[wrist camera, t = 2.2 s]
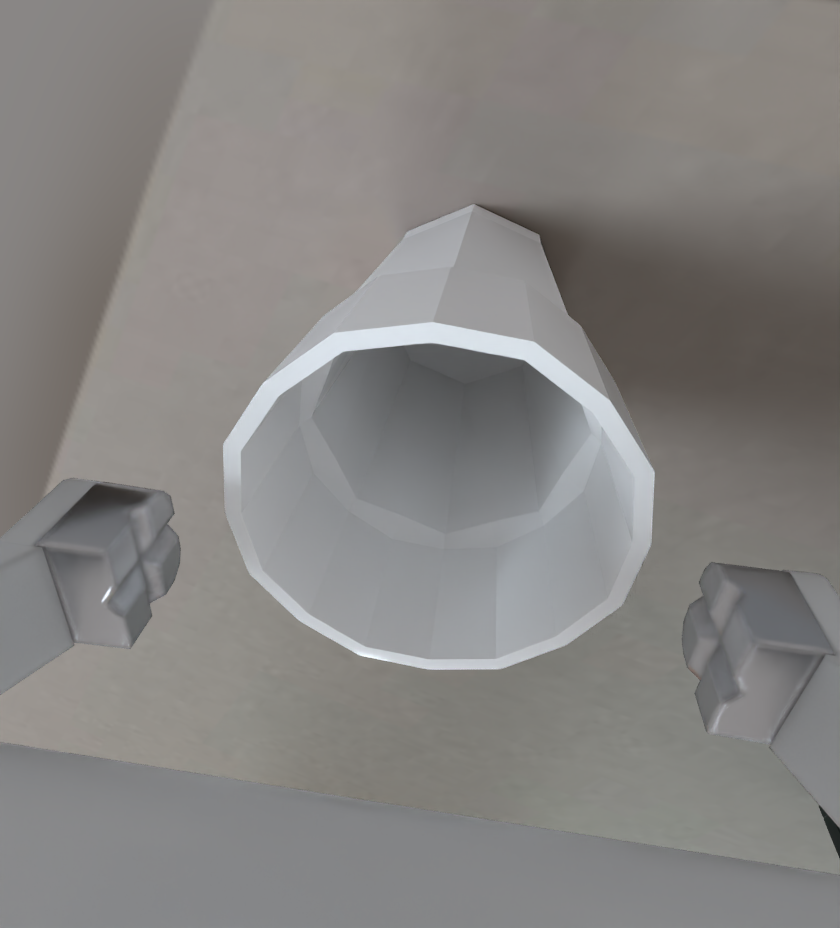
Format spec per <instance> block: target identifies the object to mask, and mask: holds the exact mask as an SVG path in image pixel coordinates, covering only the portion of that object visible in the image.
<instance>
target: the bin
mask: <svg viewBox="0 0 840 928" xmlns="http://www.w3.org/2000/svg"><path fill="white" fill-rule="evenodd" d="M819 808H820V811H821V813H822V816H823V817H824V821H825V823H826V826H827V828H828V831H829V833H830V836H831V838H832V841H833V843H834V846H835V848H836V851H837V853H838V855H839V858H840V828H839V827H838V826H837V825H836V823H835V822H834V821H833V820H832V819H831V818H830V817H829V815H828V814H827V813H826V812H825V811H824V810H823V808H822V807H821V806H820V805H819Z"/></svg>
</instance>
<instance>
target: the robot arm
mask: <svg viewBox="0 0 840 928" xmlns="http://www.w3.org/2000/svg"><path fill="white" fill-rule="evenodd" d="M174 514H175V513H174V509H173V504H172V500H171V496H170V495H169V494H167V493H166V492H165V491H161V490H154V489H148V488H141V487H135V486H128V485H122V484H115V483H108V482H99V481H93V480H86V479H78V478H70V479H66V480H63V481H62V482H61V483H59V484H58V485H57V486H56V487H55V488H54V489H53V490H52V491H51V492H50V493H49V494H47V495H46V496H45V497H44V498H43V499H42V500H41V501H40V502H39V503H38V504H37V505H35V506H34V507H33V508H32V509H31V510H30V511H29V512H28V513H27V514H26V515H25V516H24V517H22V519H20V520H19V521H18V522H17V523H16V524H15V525H14V526H13V527H11V528H10V529H9V530H8V531H7V532H6V533H5V534H4V535H3V536H2V537H1V538H0V695H1V694H2V693H4V692H5V691H7V690H8V689H10V688H11V687H13V686H14V685H16V684H17V683H19V682H20V681H22V680H23V679H25V678H26V677H28V676H29V675H31V674H32V673H34V672H35V671H37V670H38V669H40V668H41V667H43V666H44V665H46V664H47V663H49V662H50V661H52V660H53V659H55V658H56V657H58V656H59V655H61V654H62V653H64V652H65V651H67V650H68V649H70V648H71V647H73V646H74V643H83V644H92V645H100V646H109V647H117V648H126V649H131V647H132V646H133V644H134V643H135V641H136V640H137V638H138V637H139V635H140V634H141V632H142V630H143V629H144V627H145V626H146V624H147V623H148V621H149V620H150V618H151V617H152V612H151V608H150V603H151V602H153V601H155V600H157V599H159V598H161V597H162V596H164V595H166V594H167V592H168V590H169V589H170V587H171V586H172V584H173V582H174V581H175V577H176V574H177V571H178V568H179V564H180V551H181V548H180V542H179V536H178V535H177V534H176V533H175V532H174V531H173V529H172V528H171V527H170V526H169V525H168V524H167V523H168V522H169V520H170V519H171V518H172V516H173V515H174ZM699 584H700V587H701V590H702V593H703V595H704V596H702V597H701V598H699V599H698V600H696V601H694V602H693V603H691V604H690V605H689V608H688V611H687V613H686V616H685V619H684V623H683V632H682V646H683V654H684V658H685V661H686V665H687V668H688V669H689V670H690V671H691V672H692V673H693V674H694V675H695V676H696V677H698V678H699V679H700V682H699V684H698V687H697V689H696V691H695V696H696V699H697V703H698V706H699V709H700V713H701V716H702V719H703V722H704V726H705V729H706V732H707V734H713V735H719V736H724V737H730V738H736V739H742V740H747V741H753V742H759V743H765V744H771V745H770V747H769V748H770V749H771V750H772V751H773V752H774V753H775V754H776V756H777V757H778V758H779V759H780V760H781V761H782V762H783V764H784V765H785V766H786V767H787V768H788V769H789V771H790V772H791V773H792V774H793V775H794V776H795V777H796V779H797V780H798V781H799V782H800V783H801V784H802V785H803V787H804V788H805V789H806V790H807V791H808V792H809V794H810V795H811V796H812V797H813V798H814V799H815V800H816V802H817V803H818V804H819V805H820V806H821V807H822V808H823V810H824V811H825V812H826V813H827V814H828V815H829V817H830V818H831V819H832V820H833V821H834V822H835V823H836V825H837V826H838V827H839V828H840V598H839V596H838V594H837V593H836V591H835V590H834V588H833V586H832V585H831V583H830V582H829V580H828V579H827V578H825V577H824V576H822V575H821V574H817V573H808V572H798V571H789V570H782V571H779V570H771V569H763V568H755V567H747V566H739V565H731V564H723V563H715V562H711V563H710V564H709V565H708V566H707V567H706V568H705V569H704V572H703V574H702V576H701V579H700V581H699ZM0 928H840V875H837V874H831V873H825V872H818V871H812V870H806V869H800V868H793V867H787V866H781V865H774V864H768V863H762V862H755V861H749V860H743V859H737V858H730V857H724V856H718V855H711V854H705V853H699V852H692V851H686V850H680V849H673V848H667V847H660V846H654V845H648V844H641V843H635V842H629V841H622V840H616V839H610V838H603V837H597V836H590V835H584V834H578V833H571V832H565V831H559V830H552V829H546V828H539V827H533V826H527V825H520V824H514V823H508V822H501V821H495V820H488V819H482V818H476V817H469V816H463V815H457V814H451V813H444V812H438V811H432V810H425V809H419V808H413V807H407V806H400V805H394V804H388V803H382V802H375V801H369V800H363V799H356V798H350V797H344V796H338V795H331V794H325V793H319V792H312V791H306V790H300V789H294V788H287V787H281V786H275V785H269V784H262V783H256V782H250V781H243V780H237V779H231V778H225V777H218V776H212V775H206V774H199V773H193V772H187V771H180V770H174V769H168V768H161V767H155V766H149V765H142V764H136V763H130V762H124V761H117V760H111V759H105V758H98V757H92V756H86V755H79V754H73V753H67V752H60V751H54V750H48V749H41V748H35V747H29V746H23V745H16V744H10V743H4V742H0Z"/></svg>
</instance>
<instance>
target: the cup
mask: <svg viewBox="0 0 840 928" xmlns="http://www.w3.org/2000/svg"><path fill="white" fill-rule="evenodd" d="M223 459H224V502H225V514H226V517H227V519H228V522H229V524H230V527H231V529H232V532H233V534H234V537H235V539H236V542H237V545H238V547H239V550H240V552H241V555H242V557H243V560H244V562H245V565H246V567H247V570H248V572H249V574H250V575H251V576H252V577H253V578H254V579H255V580H257V581H258V582H259V583H260V584H261V585H262V586H263V587H264V588H265V589H266V590H267V591H268V592H269V593H270V594H271V595H272V596H273V597H275V598H276V599H277V600H278V601H279V602H280V603H281V604H282V605H283V606H284V607H285V608H286V609H287V610H288V611H289V612H290V613H291V614H293V615H294V616H295V617H296V618H297V619H298V620H299V621H300V622H302V623H304V624H306V625H307V626H309V627H311V628H313V629H314V630H316V631H318V632H320V633H321V634H323V635H325V636H327V637H328V638H330V639H332V640H334V641H335V642H337V643H339V644H340V645H342V646H344V647H346V648H347V649H349V650H351V651H353V652H354V653H356V654H358V655H360V656H365V657H370V658H375V659H380V660H384V661H389V662H394V663H399V664H404V665H409V666H414V667H419V668H424V669H429V670H444V669H503V668H505V667H508V666H511V665H514V664H516V663H519V662H522V661H525V660H527V659H530V658H533V657H535V656H538V655H541V654H544V653H546V652H549V651H552V650H555V649H557V648H560V647H563V646H566V645H567V644H569V643H570V642H571V641H573V640H574V639H576V638H577V637H578V636H580V635H581V634H583V633H584V632H585V631H587V630H588V629H590V628H591V627H592V626H594V625H595V624H597V623H598V622H599V621H601V620H602V619H604V618H605V617H607V616H608V615H609V614H611V613H612V612H614V611H615V610H616V609H618V608H619V607H621V606H622V605H623V603H624V601H625V599H626V597H627V595H628V593H629V590H630V588H631V586H632V584H633V582H634V580H635V578H636V576H637V574H638V571H639V569H640V567H641V565H642V563H643V561H644V559H645V557H646V555H647V552H648V550H649V548H650V546H651V541H652V519H653V497H654V475H655V471H654V469H653V467H652V465H651V462H650V460H649V458H648V455H647V453H646V451H645V449H644V446H643V444H642V442H641V440H640V437H639V435H638V433H637V430H636V428H635V426H634V424H633V421H632V419H631V417H630V415H629V412H628V410H627V408H626V406H625V403H624V401H623V399H622V396H621V394H620V392H619V390H618V387H617V385H616V383H615V381H614V379H613V378H612V376H611V374H610V373H609V371H608V369H607V368H606V366H605V364H604V363H603V361H602V360H601V358H600V356H599V355H598V353H597V351H596V350H595V348H594V347H593V345H592V343H591V342H590V340H589V338H588V337H587V335H586V333H585V332H584V330H583V329H582V327H581V325H579V324H578V323H577V322H576V321H574V320H573V319H572V318H571V317H569V316H568V314H567V311H566V308H565V306H564V303H563V301H562V298H561V295H560V293H559V290H558V287H557V285H556V282H555V280H554V277H553V274H552V272H551V269H550V266H549V264H548V261H547V258H546V255H545V252H544V248H543V245H542V242H541V238H540V235H539V234H536V233H534V232H532V231H530V230H528V229H526V228H524V227H522V226H519V225H517V224H515V223H513V222H511V221H509V220H507V219H505V218H502V217H500V216H498V215H496V214H494V213H492V212H490V211H488V210H485V209H483V208H481V207H479V206H477V205H475V204H473V205H470V206H468V207H465V208H463V209H461V210H458V211H456V212H453V213H451V214H448V215H446V216H443V217H441V218H439V219H436V220H434V221H431V222H429V223H426V224H424V225H422V226H419V227H417V228H414V229H412V230H409V231H407V233H406V234H405V236H404V238H403V240H402V241H401V242H400V243H399V244H398V245H397V246H396V247H395V249H394V250H393V251H392V252H391V253H390V254H389V255H388V256H387V258H386V259H385V260H384V261H383V262H382V263H381V264H380V265H379V266H378V268H377V269H376V270H375V271H374V272H373V273H372V274H371V275H370V277H369V278H368V279H367V280H366V281H365V282H364V283H363V284H362V286H361V287H360V288H359V289H358V290H357V291H356V292H355V293H354V294H353V295H351V296H350V297H349V298H347V299H346V300H344V301H343V302H342V303H340V304H339V305H338V306H336V307H335V308H333V309H332V310H331V311H329V312H328V313H327V314H325V315H324V316H323V317H322V318H321V319H320V320H319V322H318V323H317V324H316V325H315V326H314V327H313V328H312V329H311V330H310V332H309V333H308V334H307V335H306V336H305V337H304V338H303V339H302V340H301V341H300V343H299V344H298V345H297V346H296V347H295V348H294V349H293V350H292V351H291V353H290V354H289V355H288V356H287V357H286V358H285V359H284V360H283V361H282V362H281V364H280V365H279V366H278V367H277V368H276V369H275V370H274V371H273V372H272V374H271V375H270V376H269V377H268V378H267V379H266V380H265V381H264V382H263V384H262V385H261V387H260V388H259V390H258V392H257V393H256V395H255V396H254V398H253V399H252V401H251V402H250V404H249V405H248V407H247V408H246V410H245V411H244V413H243V415H242V416H241V418H240V419H239V421H238V422H237V424H236V425H235V427H234V428H233V430H232V431H231V433H230V434H229V436H228V438H227V439H226V441H225V442H224V444H223Z"/></svg>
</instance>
